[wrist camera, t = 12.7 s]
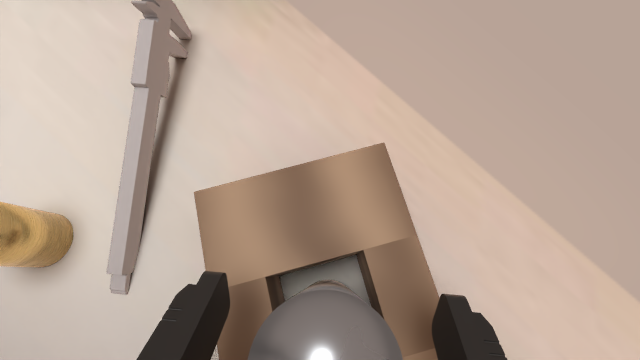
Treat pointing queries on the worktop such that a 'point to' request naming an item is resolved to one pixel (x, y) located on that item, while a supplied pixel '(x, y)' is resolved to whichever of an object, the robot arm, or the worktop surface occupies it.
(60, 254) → the short pin
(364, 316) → the long pin
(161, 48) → the caliper
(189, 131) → the worktop surface
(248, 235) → the hole block
